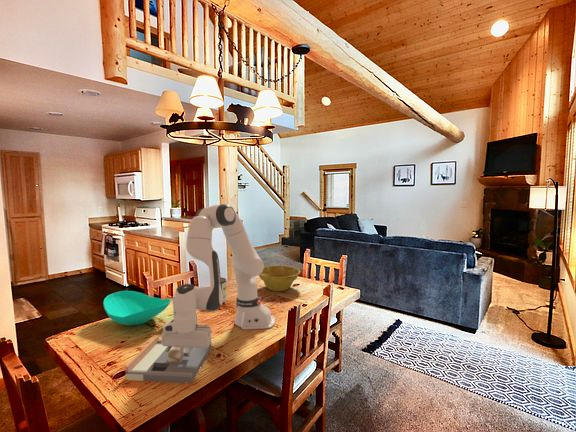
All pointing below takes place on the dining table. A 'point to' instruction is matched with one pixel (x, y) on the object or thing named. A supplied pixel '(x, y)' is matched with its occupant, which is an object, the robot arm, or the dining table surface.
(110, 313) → the table top decor
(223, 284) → the coffee can
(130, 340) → the dining table surface
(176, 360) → the maple block
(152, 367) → the trap deck
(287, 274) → the planter bowl
